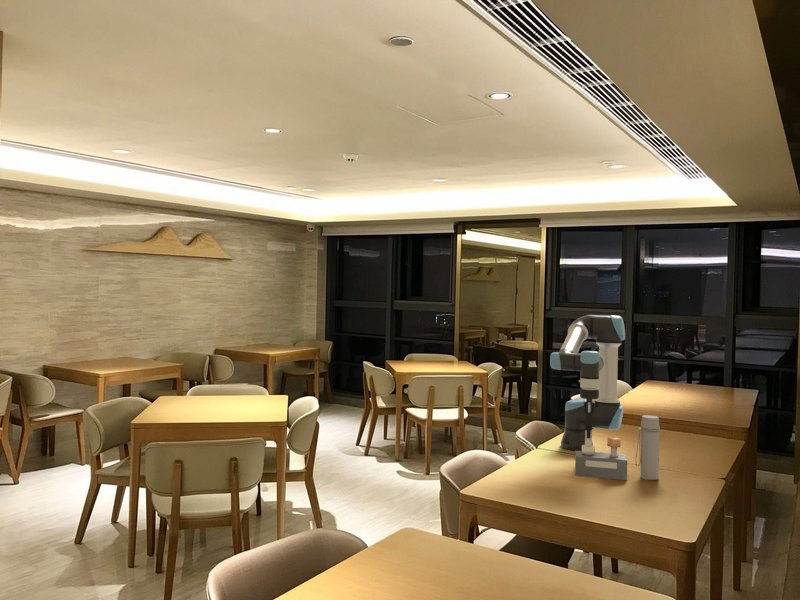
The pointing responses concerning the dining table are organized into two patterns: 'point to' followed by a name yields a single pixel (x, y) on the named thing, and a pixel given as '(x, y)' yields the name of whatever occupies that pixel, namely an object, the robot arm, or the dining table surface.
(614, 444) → the knob
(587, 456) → the console
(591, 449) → the knob
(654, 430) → the water bottle
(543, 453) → the dining table surface
